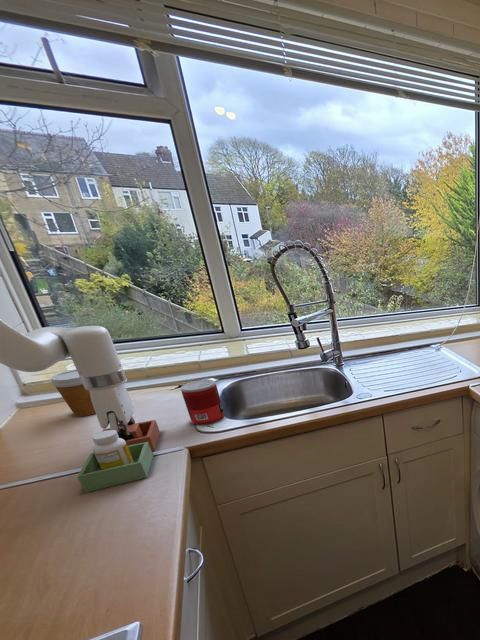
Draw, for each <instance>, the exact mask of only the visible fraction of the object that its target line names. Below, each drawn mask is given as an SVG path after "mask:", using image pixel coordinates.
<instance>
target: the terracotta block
mask: <svg viewBox="0 0 480 640" xmlns="http://www.w3.org/2000/svg"><path fill="white" fill-rule="evenodd" d="M119 428H120V429H122V428H123V429H124V426H122V427H119ZM128 428H129V431H130V433H132V434H133V437H134V439H136V438H141V437H143V434H142V431H141V429H140V426H139V424H133V425H128ZM124 430H125V429H124Z"/></svg>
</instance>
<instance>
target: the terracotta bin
mask: <svg viewBox="0 0 480 640" xmlns="http://www.w3.org/2000/svg"><path fill="white" fill-rule="evenodd" d="M135 424H139V426H140V429H141V431H142V434H143V437H141V438H136V439H131V440H126V441H125V442H126V444H127V446H129V445H134V444H139V443H144V442H148V443H149V446H150V448H151V451H152V452H155V451H156V448H157V445H158V441H159V439H160V436H161V430H160V428H159V425H158V423H157V420H156V419H152V420H146V421H141V422H135ZM121 427H122V426H121ZM102 429H103V428H102ZM108 430H111V429H110V427H109V428H108V427H107V428H105V429H103V430H102V431H101V432H103V431H108ZM94 445H96V444H95V443H94Z"/></svg>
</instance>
